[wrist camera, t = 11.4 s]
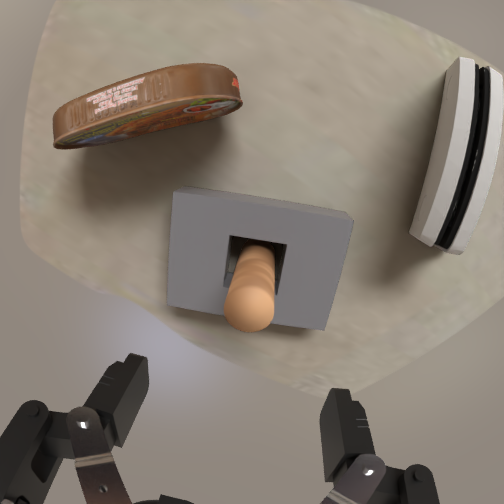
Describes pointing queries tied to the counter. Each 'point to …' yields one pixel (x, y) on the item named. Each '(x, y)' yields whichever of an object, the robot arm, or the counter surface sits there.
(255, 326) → the peg
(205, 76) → the tin
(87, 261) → the counter surface
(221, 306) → the hole block
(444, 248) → the hinge
